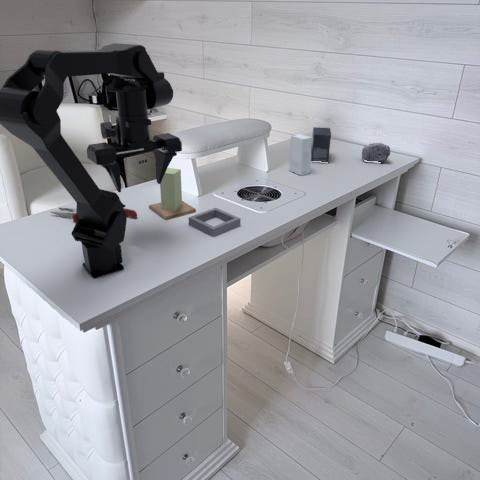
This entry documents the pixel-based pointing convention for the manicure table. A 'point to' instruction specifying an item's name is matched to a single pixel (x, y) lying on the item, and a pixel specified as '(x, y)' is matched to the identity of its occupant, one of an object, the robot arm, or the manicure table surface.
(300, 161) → the skincare box
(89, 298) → the manicure table surface
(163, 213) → the walnut pad
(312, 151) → the small box
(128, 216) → the pliers
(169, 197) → the olive block
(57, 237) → the manicure table surface
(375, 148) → the pumice stone
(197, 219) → the gray square frame
